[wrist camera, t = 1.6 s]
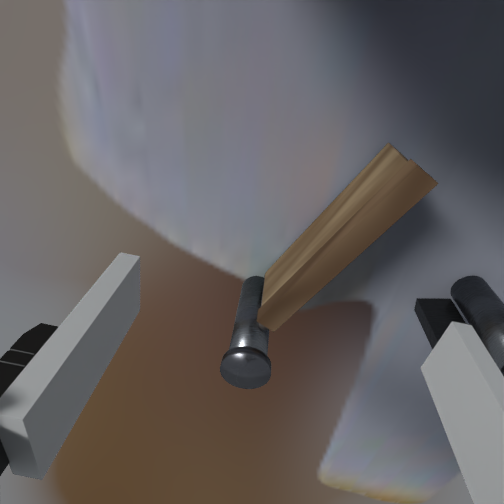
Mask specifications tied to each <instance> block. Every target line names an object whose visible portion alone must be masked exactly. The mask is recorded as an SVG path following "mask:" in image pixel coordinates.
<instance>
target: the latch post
mask: <svg viewBox="0 0 504 504" xmlns="http://www.w3.org/2000/svg"><path fill="white" fill-rule="evenodd" d="M451 296H452V297H453V299H454V300H455V302H456V303H457V305H458V307H459V308H460V310H461V311H462V313H463V314H464V316H465V318H466V319H467V321H468V322H469V324H470V325H472V327H473V328H474V330H475V331H476V333H477V335H478V336H479V338H480V339H481V341H482V343H483V344H484V346H485V347H486V349H487V351H488V352H489V354H490V355H491V357H492V359H493V360H494V362H495V363H496V365H497V366H498V368H499V370H500V371H501V373H502V374H503V376H504V304H503V302H502V301H501V300H500V299H499V297H498V296H497V295H496V294H495V293H494V291H493V290H492V289H491V288H490V286H489V285H488V284H487V283H486V282H485V280H484V279H482V278H481V277H478V276H467V277H464V278H461V279H459V280H458V281H457V282H455V283H454V285H453V286H452V288H451ZM414 310H415V312H416V315H417V317H418V319H419V321H420V323H421V325H422V328H423V330H424V332H425V334H426V336H427V338H428V341H429V343H430V345H431V347H432V349H434V347H435V346H436V344H437V343H438V341H439V340H440V338H441V337H442V335H443V334H444V332H445V331H446V329H447V328H448V326H449V325H450V324H451V322H452V321H454V322H458V323H463V324H466V323H465V321H464V320H463V318H462V316H461V315H460V313H459V312H458V310H457V308H456V307H455V305H454V304H453V302H452V300H451V299H417V300H416V305H415V309H414Z"/></svg>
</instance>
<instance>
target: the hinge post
mask: <svg viewBox="0 0 504 504" xmlns="http://www.w3.org/2000/svg"><path fill="white" fill-rule="evenodd" d="M263 284H264V278H263V277H259V276H253V277H250V278H248V279H246V280H245V281H244V283H243V285H242V290H241V295H240V300H239V305H238V309H237V314H236V319H235V324H234V329H233V334H232V339H231V343H230V348H229V350H228V351H227V352H226V353H225V354H224V356H223V358H222V362H221V366H220V372H221V375H222V377H223V378H224V379H225V380H226V381H227V382H228V383H229V384H231V385H233V386H236V387H239V388H244V389H254V388H258V387H261V386H263V385H264V384H266V383H267V382H268V381H269V379H270V376H271V361H270V359H269V358H268V356H267V351H268V338H269V330H263V329H261V328H260V327H259V323H258V322H257V315H258V309H259V308H260V307H261V301H262V293H263Z"/></svg>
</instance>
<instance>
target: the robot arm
mask: <svg viewBox="0 0 504 504" xmlns="http://www.w3.org/2000/svg"><path fill="white" fill-rule="evenodd" d="M139 311H140V257H139V256H135V255H130V254H125V253H120V254H119V255H118V256H117V257H116V258H115V259H114V261H113V262H112V263H111V264H110V266H109V267H108V268H107V269H106V270H105V272H104V273H103V274H102V275H101V276H100V278H99V279H98V280H97V281H96V283H95V284H94V285H93V286H92V287H91V288H90V290H89V291H88V292H87V293H86V295H85V296H84V297H83V298H82V299H81V301H80V302H79V303H78V304H77V305H76V307H75V308H74V309H73V310H72V311H71V313H70V314H69V315H68V316H67V318H66V319H65V320H64V321H63V322H62V324H61V325H60V326H59V327H57V326H52V325H48V324H43V323H41V324H39V325H37V326H36V327H34V328H32V329H31V330H29V331H27V332H26V333H24V334H23V335H22V336H21V337H20V338H19V339H18V340H17V342H15V344H14V345H13V346H12V347H11V348H10V350H9V351H7V352H6V353H5V354H4V355H3V356H2V358H1V359H0V476H1V474H2V473H3V471H4V469H5V468H6V467H7V465H8V464H9V465H10V468H11V470H12V472H13V474H15V475H21V476H25V477H30V478H35V479H40V480H42V479H43V477H44V476H45V474H46V472H47V470H48V469H49V467H50V465H51V463H52V462H53V460H54V458H55V457H56V454H57V453H58V451H59V450H60V448H61V446H62V444H63V443H64V441H65V439H66V437H67V436H68V434H69V432H70V431H71V429H72V427H73V425H74V423H75V422H76V420H77V418H78V417H79V415H80V413H81V411H82V410H83V408H84V406H85V405H86V403H87V401H88V399H89V398H90V396H91V394H92V392H93V391H94V389H95V387H96V385H97V384H98V382H99V380H100V378H101V377H102V375H103V373H104V371H105V370H106V368H107V366H108V365H109V363H110V361H111V359H112V358H113V356H114V354H115V352H116V351H117V349H118V347H119V345H120V343H121V342H122V340H123V339H124V337H125V335H126V333H127V332H128V330H129V328H130V326H131V325H132V323H133V321H134V319H135V318H136V316H137V314H138V312H139ZM421 370H422V373H423V375H424V378H425V380H426V383H427V386H428V388H429V391H430V393H431V396H432V398H433V401H434V403H435V406H436V409H437V411H438V414H439V416H440V419H441V421H442V424H443V427H444V429H445V432H446V434H447V437H448V439H449V442H450V444H451V447H452V450H453V452H454V455H455V457H456V460H457V462H458V465H459V468H460V470H461V473H462V475H463V478H464V480H465V483H466V486H467V488H468V491H469V493H470V496H471V498H472V501H473V503H474V504H504V376H503V374H502V373H501V371H500V370H499V368H498V366H497V365H496V363H495V362H494V360H493V359H492V357H491V355H490V354H489V352H488V351H487V349H486V347H485V346H484V344H483V343H482V341H481V339H480V338H479V336H478V335H477V333H476V331H475V330H474V328H473V327H472V325H468V324H463V323H458V322H454V321H452V322H451V324H450V325H449V326H448V328H447V329H446V331H445V332H444V334H443V335H442V337H441V338H440V340H439V341H438V343H437V344H436V346H435V347H434V349H433V350H432V352H431V353H430V355H429V356H428V358H427V359H426V360H425V362H424V363H423V365H422V366H421Z"/></svg>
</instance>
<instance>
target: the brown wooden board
mask: <svg viewBox="0 0 504 504" xmlns="http://www.w3.org/2000/svg"><path fill="white" fill-rule="evenodd" d="M437 184H438V183H437V182H436V181H435V180H434V179H433V178H432V177H431V176H430V175H429V174H428V173H426V172H425V171H424V170H423V169H422V168H421V167H420V166H418V165H417V164H416V163H415V162H414V161H413V160H411V159H410V160H409V161H408V160H407V159H406V158H405V157H404V156H403V155H402V154H401V153H400V152H399V151H398V150H397V149H395V148H394V147H393V146H392V145H391V144H390V143H388V144H387V145H386V146H385V147H384V148H383V149H382V150H381V151H380V152H379V153H378V154H377V155H376V156H375V157H374V159H373V160H372V161H371V162H370V163H369V164H368V165H367V166H366V167H365V168H364V169H363V170H362V171H361V172H360V173H359V174H358V175H357V177H356V178H355V179H354V180H353V181H352V182H351V183H350V184H349V185H348V186H347V187H346V188H345V189H344V190H343V191H342V192H341V193H340V194H339V196H338V197H337V198H336V199H335V200H334V201H333V202H332V203H331V204H330V205H329V206H328V207H327V208H326V209H325V210H324V211H323V212H322V213H321V215H320V216H319V217H318V218H317V219H316V220H315V221H314V222H313V223H312V224H311V225H310V226H309V227H308V228H307V229H306V230H305V231H304V232H303V234H302V235H301V236H300V237H299V238H298V239H297V240H296V241H295V242H294V243H293V244H292V245H291V246H290V247H289V248H288V249H287V250H286V251H285V253H284V254H283V255H282V256H281V257H280V258H279V259H278V260H277V261H276V262H275V263H274V264H273V265H272V266H271V267H270V268H269V269H268V271H267V272H266V273H265V276H264V284H263V293H262V301H261V307H260V308H259V309H258V315H257V322H258V323H259V327H260V328H261V329H263V330H269V329H270V330H272V331H273V332H274V331H275V330H277V329H278V328H279V327H280V326H281V325H282V324H283V323H284V322H285V321H286V320H288V319H289V318H290V317H291V316H292V315H293V314H294V313H295V312H297V311H298V310H299V309H300V308H301V307H302V306H303V305H304V304H305V303H306V302H308V301H309V300H310V299H311V298H312V297H313V296H314V295H315V294H316V293H318V292H319V291H320V290H321V289H322V288H323V287H324V286H325V285H326V284H328V283H329V282H330V281H331V280H332V279H333V278H334V277H335V276H336V275H338V274H339V273H340V272H341V271H342V270H343V269H344V268H345V267H346V266H348V265H349V264H350V263H351V262H352V261H353V260H354V259H355V258H356V257H357V256H359V255H360V254H361V253H362V252H363V251H364V250H365V249H366V248H367V247H369V246H370V245H371V244H372V243H373V242H374V241H375V240H376V239H377V238H379V237H380V236H381V235H382V234H383V233H384V232H385V231H386V230H387V229H389V228H390V227H391V226H392V225H393V224H394V223H395V222H396V221H397V220H399V219H400V218H401V217H402V216H403V215H404V214H405V213H406V212H407V211H408V210H410V209H411V208H412V207H413V206H414V205H415V204H416V203H417V202H418V201H420V200H421V199H422V198H423V197H424V196H425V195H426V194H427V193H428V192H430V191H431V190H432V189H433V188H434V187H435V186H436V185H437Z"/></svg>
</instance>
